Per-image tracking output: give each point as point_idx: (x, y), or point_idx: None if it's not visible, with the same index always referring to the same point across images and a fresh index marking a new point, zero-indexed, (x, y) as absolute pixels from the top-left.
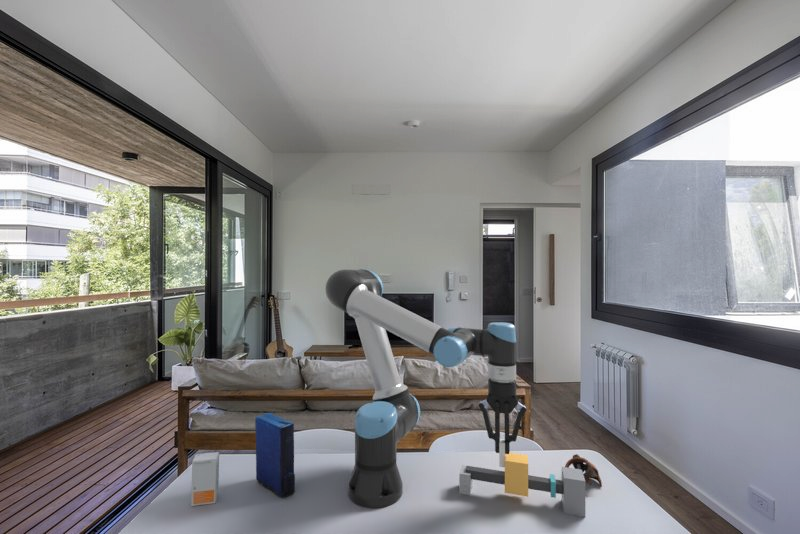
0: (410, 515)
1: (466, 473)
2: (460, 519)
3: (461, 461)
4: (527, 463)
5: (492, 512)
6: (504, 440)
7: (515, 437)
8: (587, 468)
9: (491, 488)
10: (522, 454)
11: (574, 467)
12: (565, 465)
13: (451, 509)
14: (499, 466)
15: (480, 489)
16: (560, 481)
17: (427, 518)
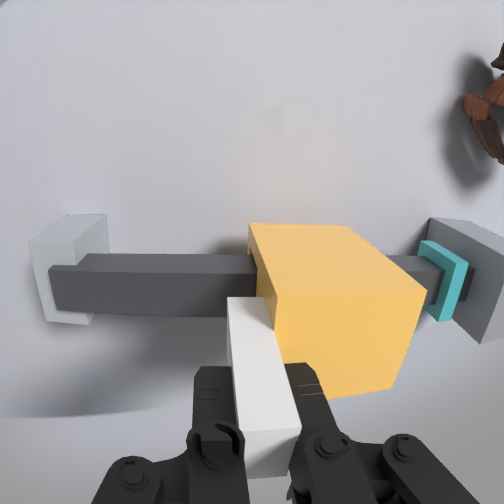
0: (27, 389)
1: (69, 314)
2: (125, 390)
3: (49, 33)
4: (390, 384)
5: (203, 349)
6: (289, 444)
7: (391, 502)
8: None
9: (184, 207)
10: (398, 293)
11: (501, 64)
12: (500, 96)
13: (88, 360)
14: (226, 349)
15: (141, 229)
16: (467, 279)
17: (59, 395)
